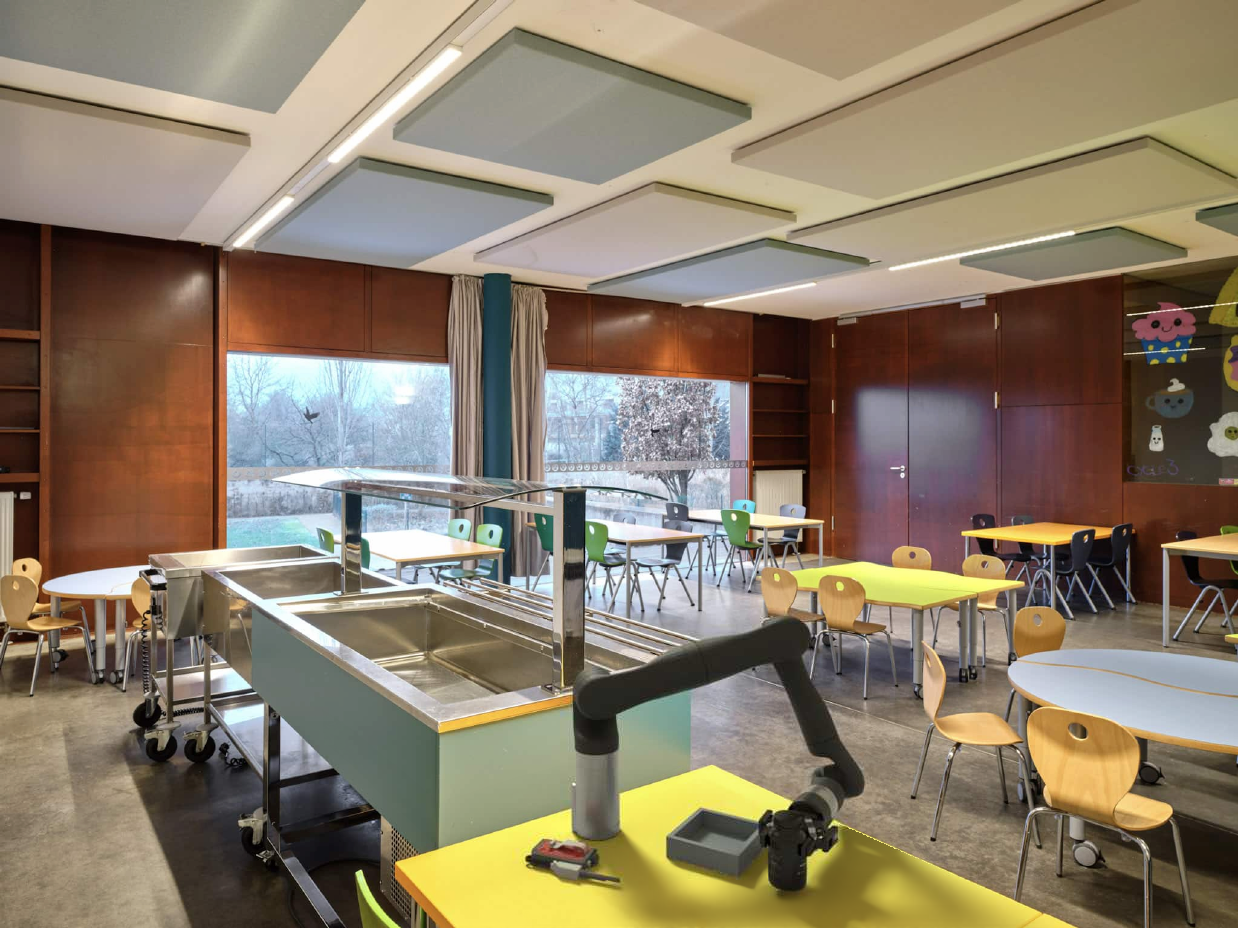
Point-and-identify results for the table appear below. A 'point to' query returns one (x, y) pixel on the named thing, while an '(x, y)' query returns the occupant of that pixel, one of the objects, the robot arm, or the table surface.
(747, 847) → the tray
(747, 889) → the table surface
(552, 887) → the table surface
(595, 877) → the walkie-talkie
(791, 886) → the supplement bottle
